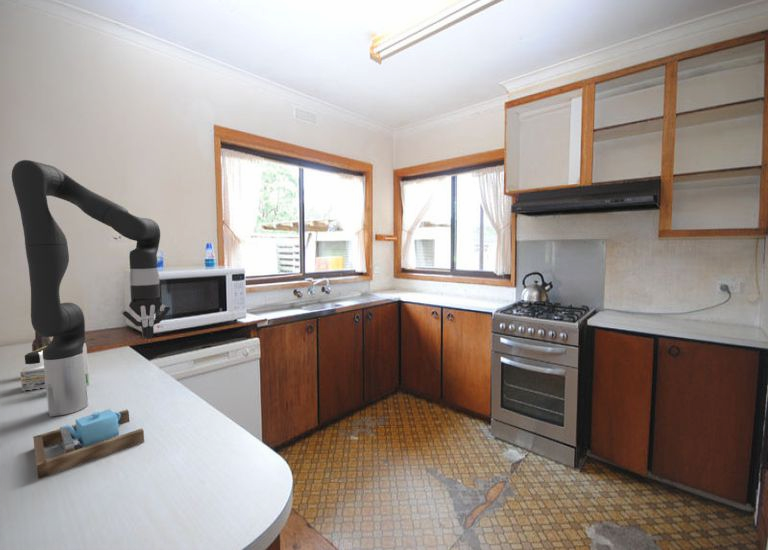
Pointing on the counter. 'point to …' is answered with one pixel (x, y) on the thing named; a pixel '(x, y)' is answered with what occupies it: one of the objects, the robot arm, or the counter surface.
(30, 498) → the counter surface
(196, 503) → the counter surface
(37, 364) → the container
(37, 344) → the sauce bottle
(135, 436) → the bracket
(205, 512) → the counter surface
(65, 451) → the stop plate
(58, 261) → the robot arm
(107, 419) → the teapot
